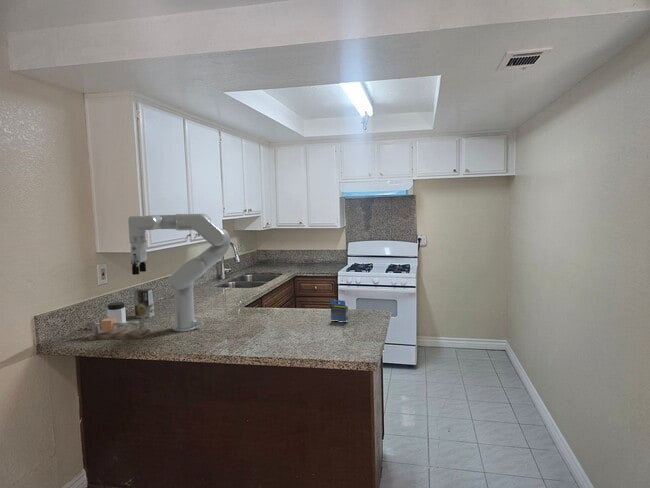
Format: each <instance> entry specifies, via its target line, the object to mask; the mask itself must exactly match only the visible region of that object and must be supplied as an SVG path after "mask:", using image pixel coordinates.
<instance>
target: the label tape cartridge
mask: <svg viewBox="0 0 650 488" xmlns="http://www.w3.org/2000/svg"><path fill="white" fill-rule="evenodd" d="M331 320H338V321H346V320H348V321H349V306H348V305H346V300H339V299H330V321H331Z"/></svg>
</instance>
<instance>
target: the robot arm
mask: <svg viewBox="0 0 650 488" xmlns="http://www.w3.org/2000/svg"><path fill="white" fill-rule="evenodd" d="M127 222H128V223H127V224H128V238H129V239H128V240H129V244H130V262H131V263H130V264H131V271H132V275H133V276H134V275H140V273H141V272H143V273H144V272H146V271H147V266H146V265H147V260H148V255H147V248H146V247H147V246H146V231H154V230H176V231H195V232H196V233H197V234H198V235H199V236H201V237H202V238H203V239H204V240H205V241H206V242H208V243H209V244H210V246H209V247H208V248H206V249H205V250H204V251H203V252H201V253H199V254H198V255H197V256H195V257H192V258H191V259H189V260H188V261H186V262H185V263H184V264H182V265H181V266H180V267H178V268H177V269H176V270H175V271H174V272H172V273H171V274H170V276H169V277H168V285H169V287H170V288H171V289H172V290H174V291H173V292H174V293H173V295H174V296H173V297H174V315H175V316H174V317H175V325H174V326H172V330H173V331H175V332H190V331H194V330H196V329H197V328H199V326H202V325H204V322H203V321H202V320H197V318H196V317H195V304H194V303H195V302H194V301H195V300H194V286H195V285H194V283H195V282H194V281H196V280H197V279H198V278H200V277H201V276H202V275H203V274H205V273H206V272H207V271H208V270H209V269H211V267H212V266H214V265H215V264H216V263H217V262H219V261H220V260H221V259H222V258H223V257H224V256H225V255H227V252H228V250H229V249H230V246H231V237H230V234H229V232H228V230H225V228H218V227H217V226H216V225H215V224H214V223H212V219H211V217H210V216H209V215H208V214H205V213H177V214H176V213H175V214H152V215H144V216H141V215H131V216H128V221H127Z"/></svg>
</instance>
